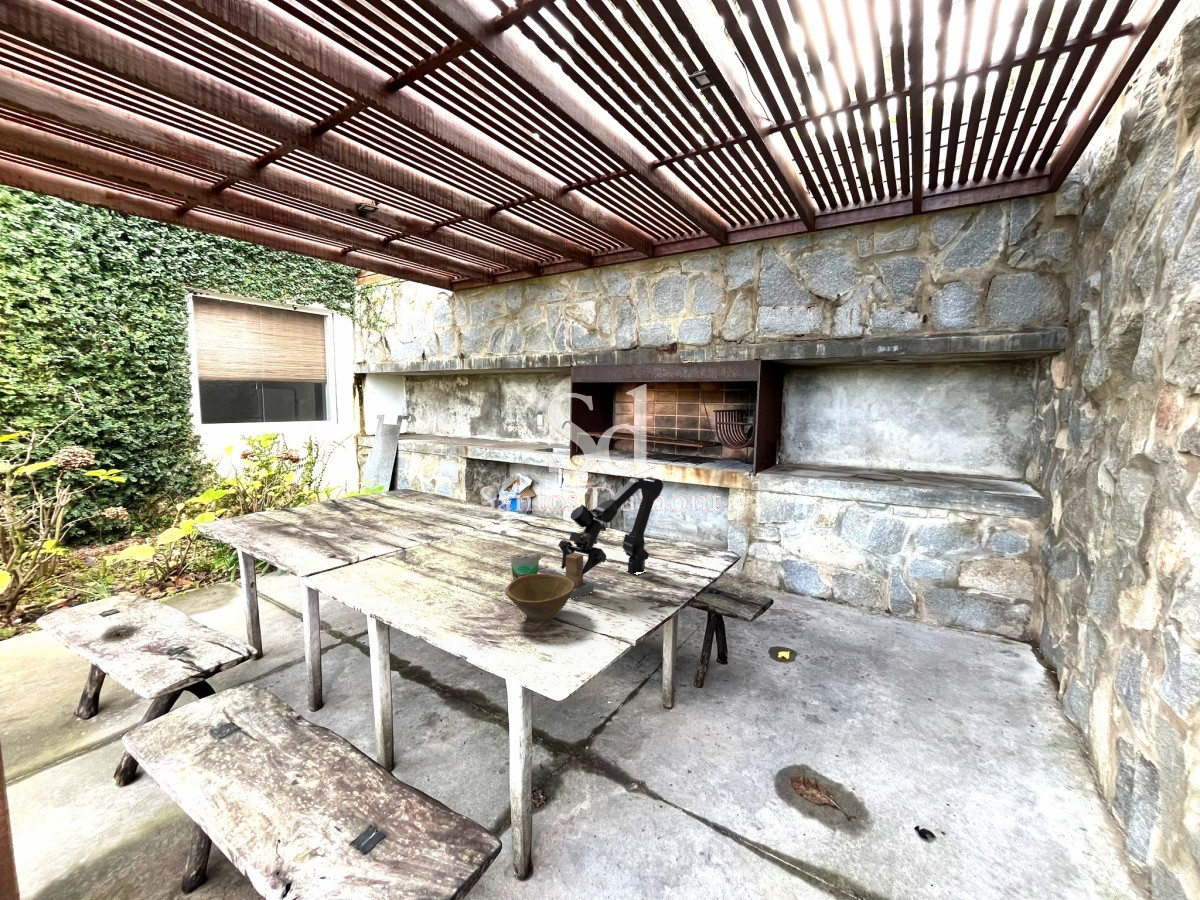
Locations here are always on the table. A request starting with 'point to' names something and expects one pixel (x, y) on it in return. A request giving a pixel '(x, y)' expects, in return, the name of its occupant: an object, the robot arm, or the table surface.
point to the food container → (524, 565)
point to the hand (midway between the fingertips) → (572, 571)
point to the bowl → (540, 595)
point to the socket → (582, 590)
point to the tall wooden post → (575, 569)
